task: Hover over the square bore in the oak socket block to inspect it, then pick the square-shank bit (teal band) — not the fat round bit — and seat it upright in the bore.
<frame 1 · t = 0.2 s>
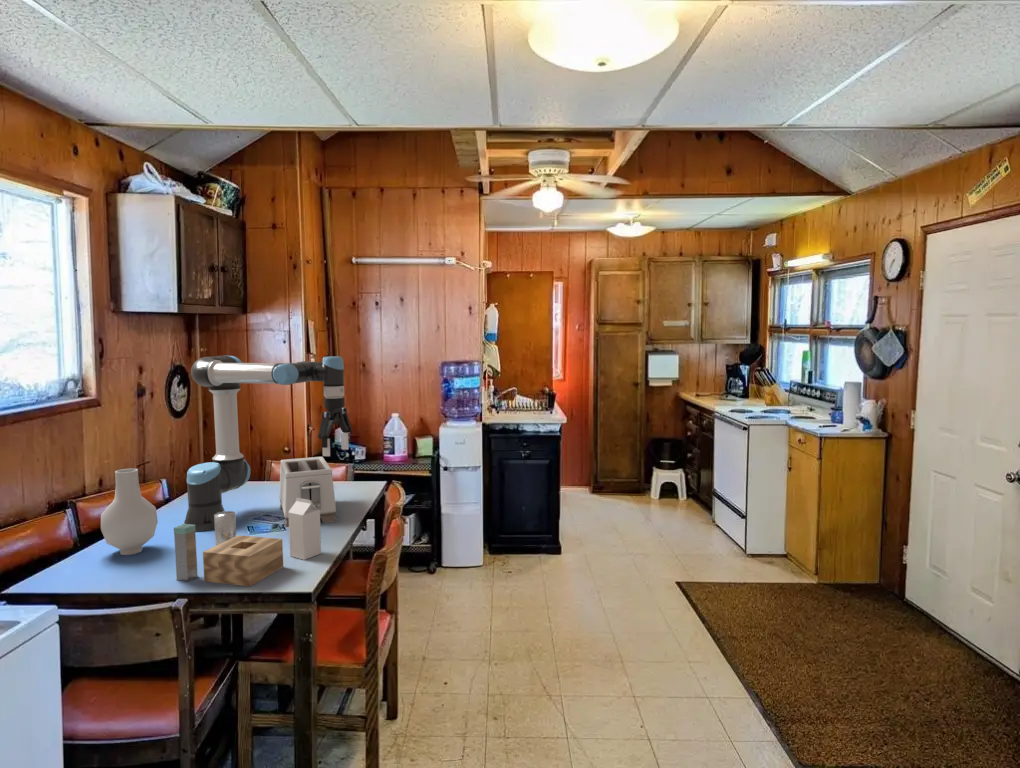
hand: (336, 452, 244), 28 cm above the table, fingers open, 13 cm apart
vase: (131, 552, 217), on the table
socket block: (244, 573, 196), on the table
round bit: (226, 554, 213), on the table
milk carton: (305, 555, 212), on the table
toaster: (307, 515, 260), on the table
teapot: (300, 490, 300), on the table
square bit: (187, 577, 194), on the table
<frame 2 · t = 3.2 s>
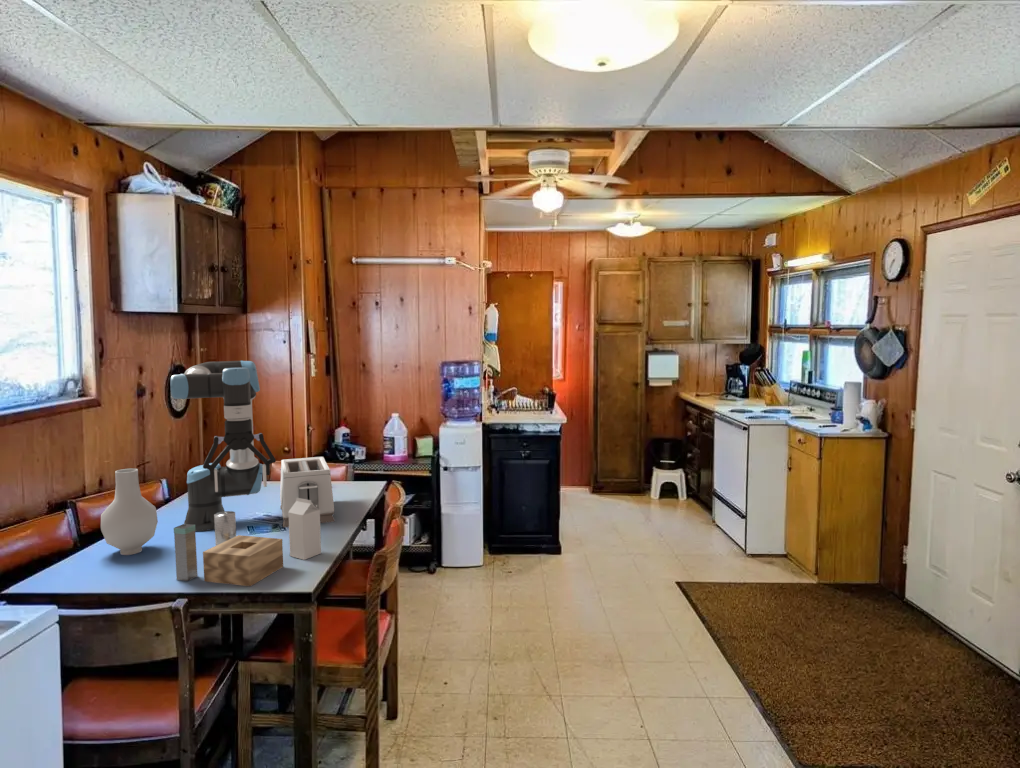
hand: (241, 488, 194), 27 cm above the table, fingers open, 13 cm apart
nothing on the table moved.
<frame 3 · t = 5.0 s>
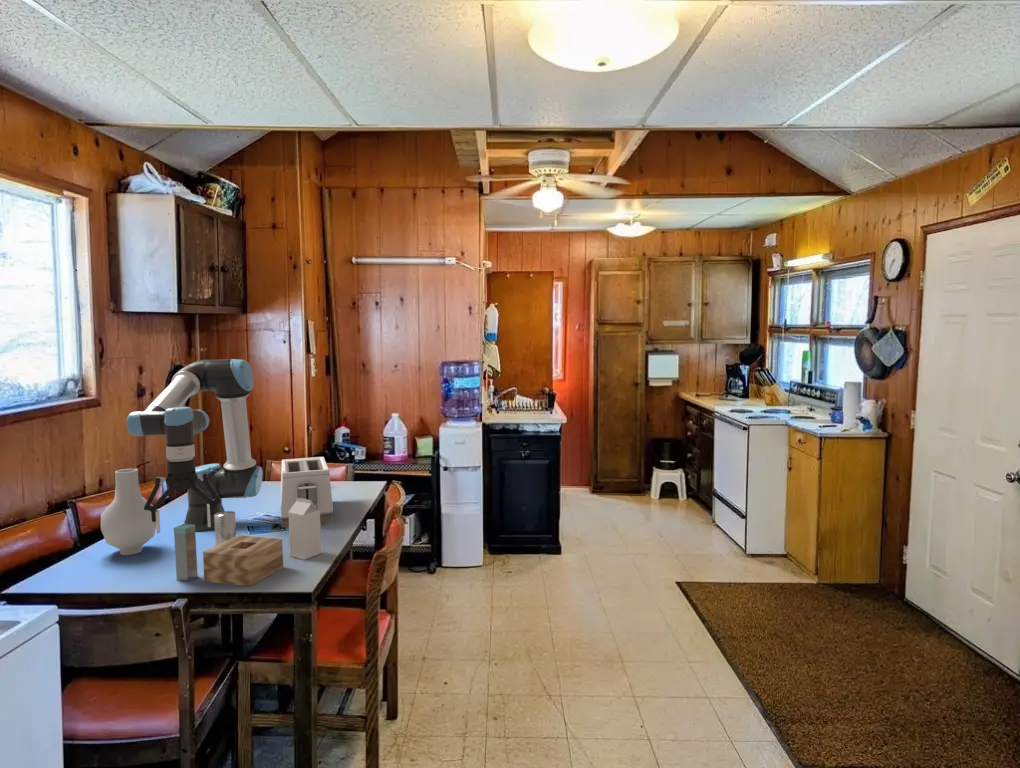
hand: (184, 529, 192), 15 cm above the table, fingers open, 13 cm apart
nothing on the table moved.
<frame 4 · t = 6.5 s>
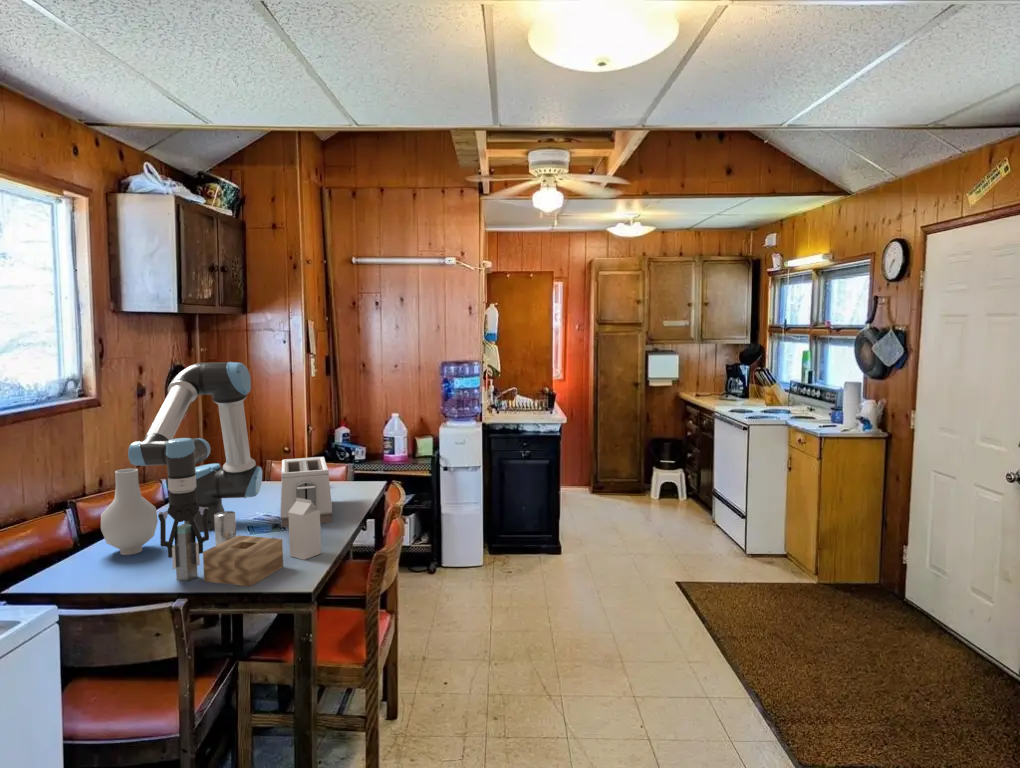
hand: (186, 565, 193), 4 cm above the table, fingers closed on square bit, 6 cm apart
square bit: (187, 577, 194), on the table, touching gripper
everything else where it was.
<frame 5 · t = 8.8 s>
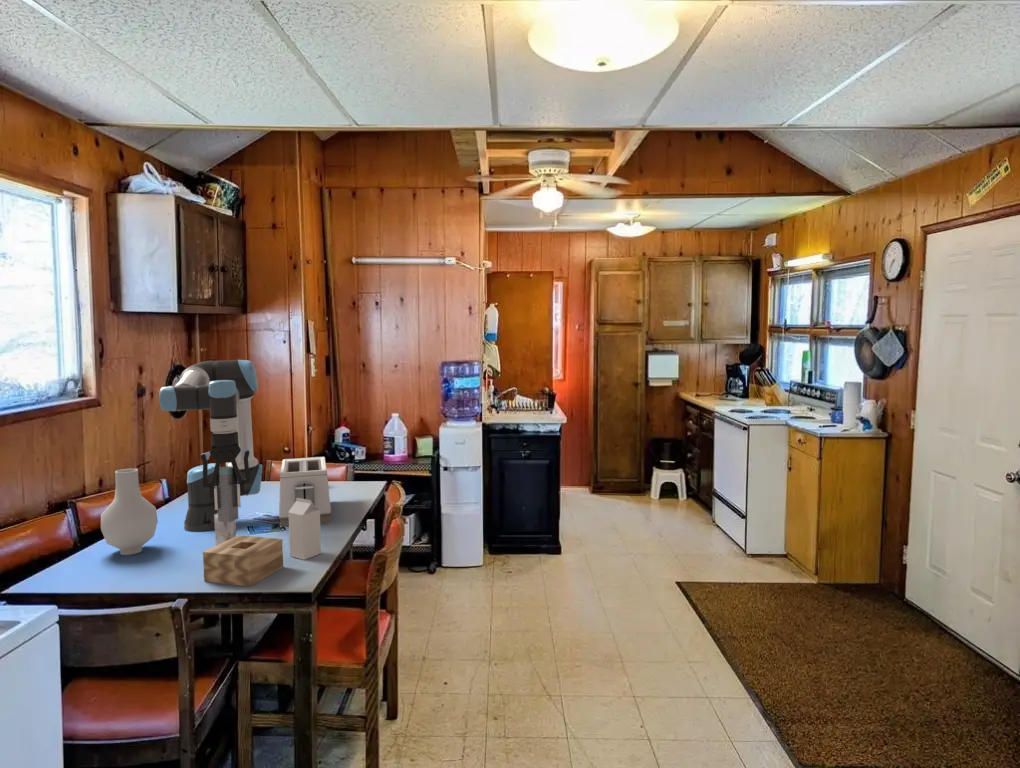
hand: (227, 507, 194), 21 cm above the table, fingers closed on square bit, 6 cm apart
square bit: (228, 519, 194), point 17 cm above the table, touching gripper
when the fingers open (11 cm above the table, at t = 10.9 s): square bit drops 3 cm, resting on socket block.
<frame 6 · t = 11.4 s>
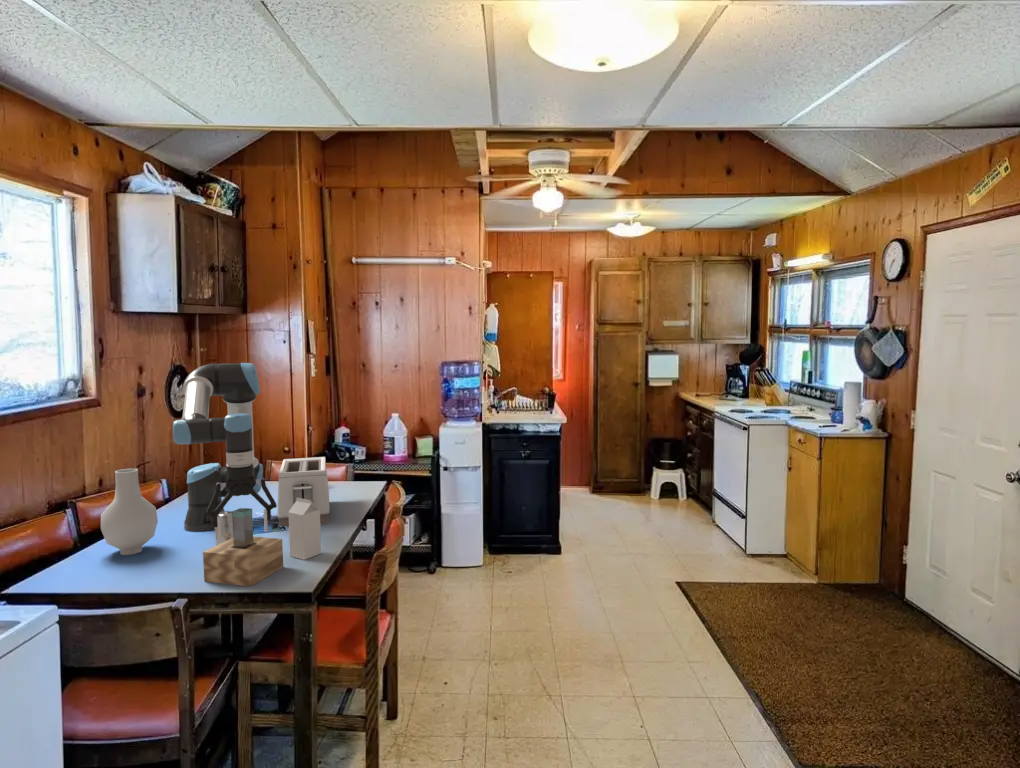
hand: (243, 534, 195), 13 cm above the table, fingers open, 12 cm apart
square bit: (244, 561, 196), point 4 cm above the table, touching socket block
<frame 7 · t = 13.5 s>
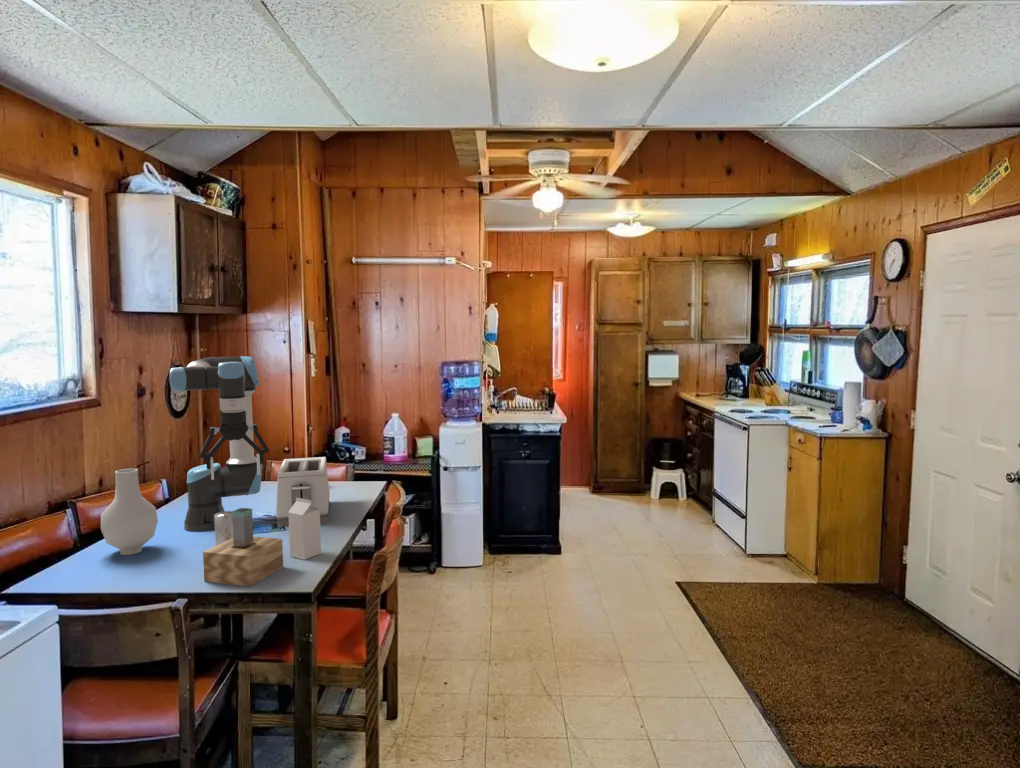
hand: (236, 476, 205), 28 cm above the table, fingers open, 13 cm apart
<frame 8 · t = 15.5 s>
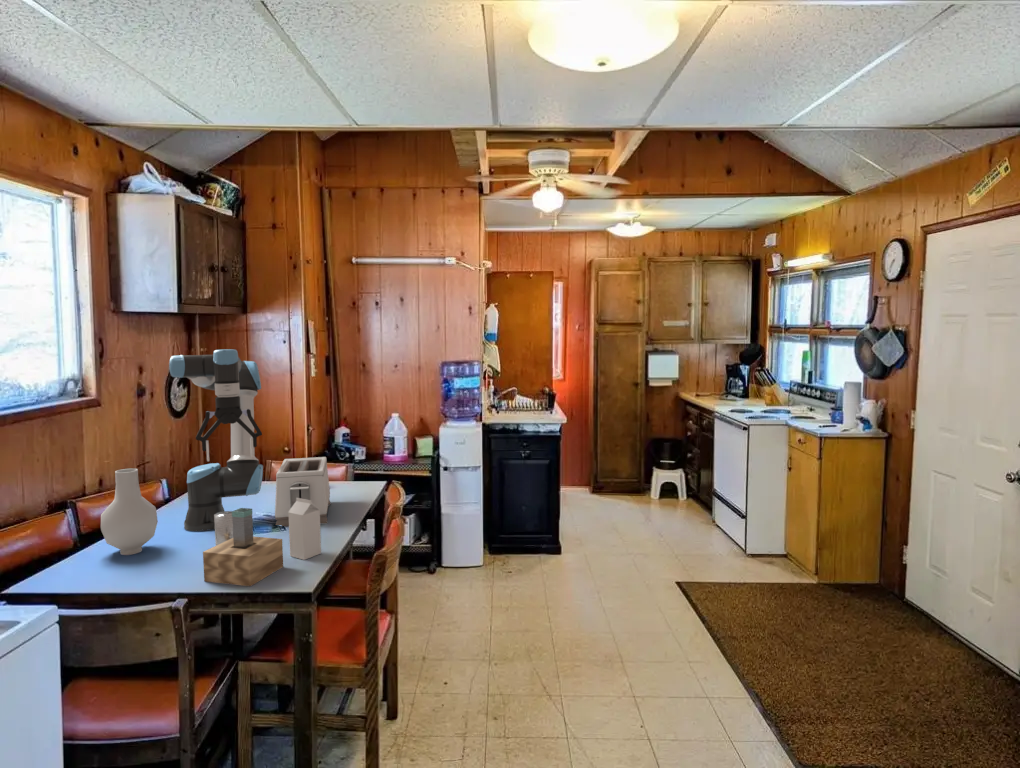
hand: (230, 458, 215), 32 cm above the table, fingers open, 13 cm apart
at the end: square bit 0.0 cm off-centre on the socket block, point 4.0 cm above the socket block's base; square bit tilted 0°; the gripper is holding nothing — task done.
